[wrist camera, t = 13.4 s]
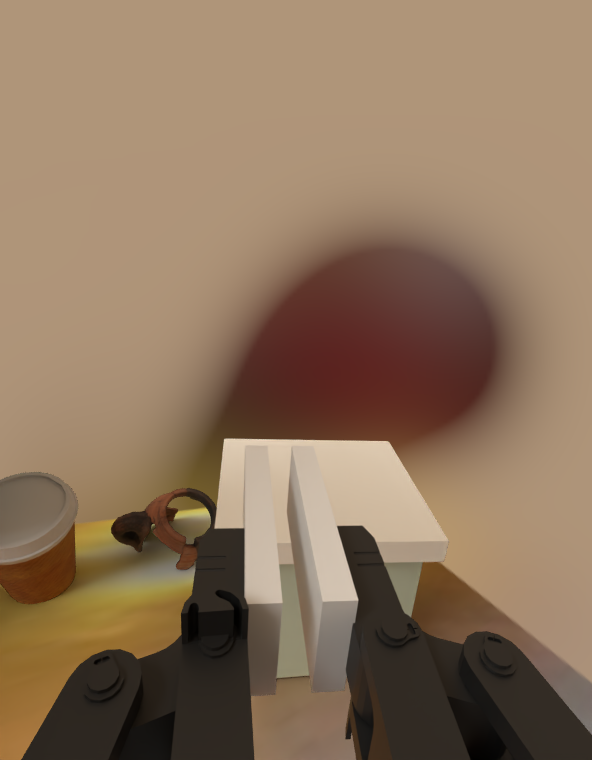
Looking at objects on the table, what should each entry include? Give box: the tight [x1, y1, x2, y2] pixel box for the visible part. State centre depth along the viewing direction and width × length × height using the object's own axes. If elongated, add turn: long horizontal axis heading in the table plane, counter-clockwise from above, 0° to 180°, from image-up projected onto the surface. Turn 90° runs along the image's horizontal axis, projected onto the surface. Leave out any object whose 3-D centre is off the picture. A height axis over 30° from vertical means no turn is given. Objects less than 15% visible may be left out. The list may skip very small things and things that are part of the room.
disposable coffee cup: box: [0, 472, 78, 604], centre depth 44 cm, size 10×10×12 cm
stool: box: [215, 439, 449, 564], centre depth 43 cm, size 18×16×16 cm
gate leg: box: [277, 562, 423, 678], centre depth 39 cm, size 13×2×13 cm, turn 98°
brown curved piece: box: [111, 488, 217, 570], centre depth 53 cm, size 12×10×8 cm
